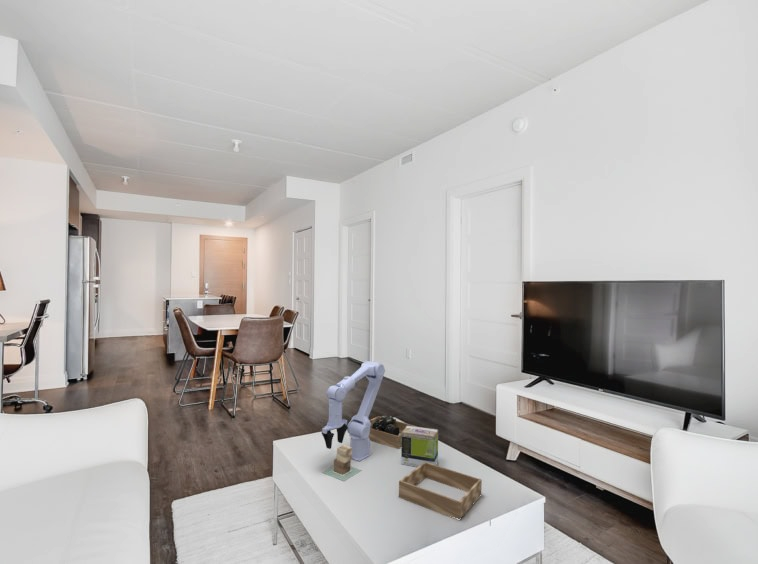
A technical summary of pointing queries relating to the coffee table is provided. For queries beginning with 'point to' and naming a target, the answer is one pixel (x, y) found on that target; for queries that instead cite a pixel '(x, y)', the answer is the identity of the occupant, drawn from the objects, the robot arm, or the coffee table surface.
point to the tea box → (419, 446)
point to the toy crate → (436, 500)
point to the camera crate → (387, 435)
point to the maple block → (344, 454)
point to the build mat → (342, 477)
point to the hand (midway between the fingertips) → (334, 445)
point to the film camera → (386, 425)
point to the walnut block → (341, 467)
